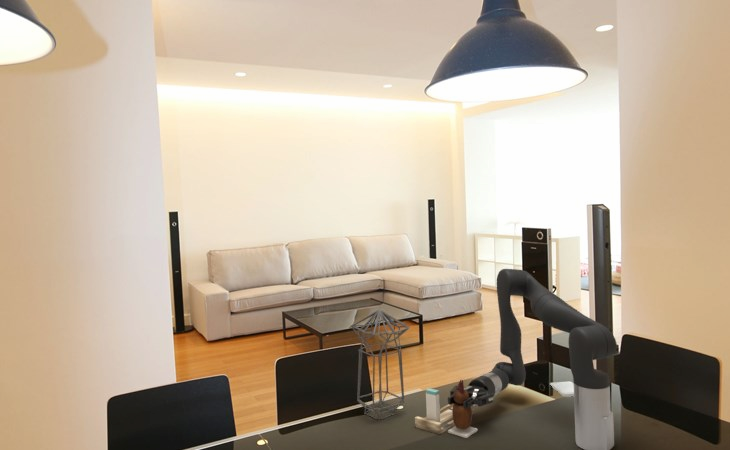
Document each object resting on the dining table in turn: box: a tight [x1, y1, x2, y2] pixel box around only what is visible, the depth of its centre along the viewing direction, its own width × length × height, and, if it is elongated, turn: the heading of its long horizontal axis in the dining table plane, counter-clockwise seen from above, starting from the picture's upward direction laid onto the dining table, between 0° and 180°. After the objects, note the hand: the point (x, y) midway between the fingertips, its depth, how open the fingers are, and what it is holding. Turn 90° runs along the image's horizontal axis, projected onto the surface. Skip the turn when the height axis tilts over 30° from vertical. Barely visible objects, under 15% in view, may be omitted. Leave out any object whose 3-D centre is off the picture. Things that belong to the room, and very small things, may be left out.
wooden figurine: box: [452, 379, 473, 429], centre depth 156 cm, size 7×6×15 cm
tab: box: [425, 388, 441, 422], centre depth 161 cm, size 4×2×10 cm, turn 47°
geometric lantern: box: [348, 309, 410, 421], centre depth 172 cm, size 16×16×35 cm
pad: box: [447, 425, 478, 439], centre depth 156 cm, size 6×6×1 cm
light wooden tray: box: [414, 404, 475, 435], centre depth 165 cm, size 9×20×3 cm, turn 137°
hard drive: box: [549, 381, 574, 398], centre depth 187 cm, size 2×8×12 cm
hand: (456, 403), depth 154 cm, fingers closed on wooden figurine, 4 cm apart
